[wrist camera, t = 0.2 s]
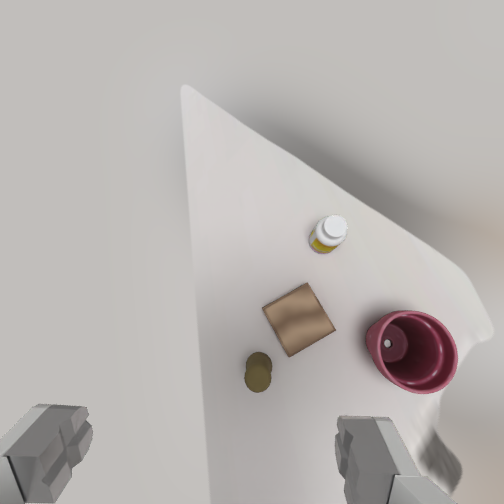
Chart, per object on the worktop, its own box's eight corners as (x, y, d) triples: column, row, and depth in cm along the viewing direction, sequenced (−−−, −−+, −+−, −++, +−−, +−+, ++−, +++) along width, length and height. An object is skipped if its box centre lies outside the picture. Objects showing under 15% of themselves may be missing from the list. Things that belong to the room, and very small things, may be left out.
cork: (240, 363, 59) (235, 376, 48) (261, 346, 60) (260, 356, 49) (256, 385, 58) (254, 404, 47) (277, 368, 58) (280, 383, 48)
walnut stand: (332, 328, 60) (337, 330, 56) (287, 354, 59) (289, 358, 55) (305, 283, 62) (308, 282, 58) (262, 308, 61) (261, 308, 57)
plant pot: (344, 319, 60) (365, 324, 47) (401, 301, 60) (437, 300, 47) (368, 383, 57) (397, 405, 44) (428, 363, 57) (473, 380, 45)
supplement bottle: (337, 253, 63) (354, 240, 50) (310, 255, 63) (321, 243, 51) (333, 227, 64) (350, 208, 52) (307, 229, 65) (317, 211, 52)
